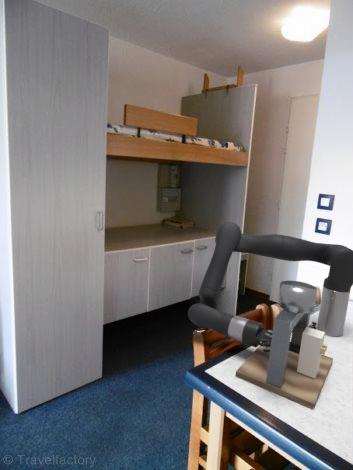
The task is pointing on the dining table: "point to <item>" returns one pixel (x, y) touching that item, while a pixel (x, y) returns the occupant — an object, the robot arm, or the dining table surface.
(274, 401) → the dining table surface
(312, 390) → the track board
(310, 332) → the plug
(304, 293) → the grey two-legged stand
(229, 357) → the dining table surface
